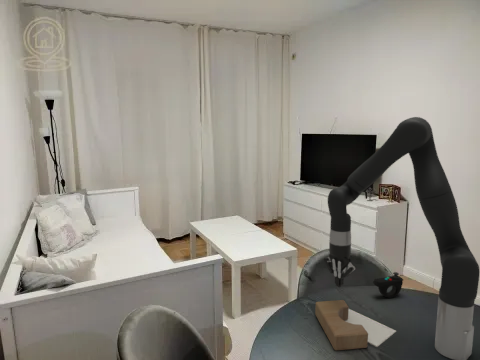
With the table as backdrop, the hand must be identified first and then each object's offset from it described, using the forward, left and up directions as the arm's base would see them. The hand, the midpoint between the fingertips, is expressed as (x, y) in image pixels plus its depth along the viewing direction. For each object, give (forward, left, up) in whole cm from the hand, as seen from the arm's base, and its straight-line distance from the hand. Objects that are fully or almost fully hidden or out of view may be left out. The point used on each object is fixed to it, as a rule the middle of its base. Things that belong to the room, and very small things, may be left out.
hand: (338, 285), depth 126 cm
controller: (-5, -27, -12) cm, 30 cm away
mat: (-9, 0, -12) cm, 15 cm away
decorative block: (+3, +2, -9) cm, 9 cm away
